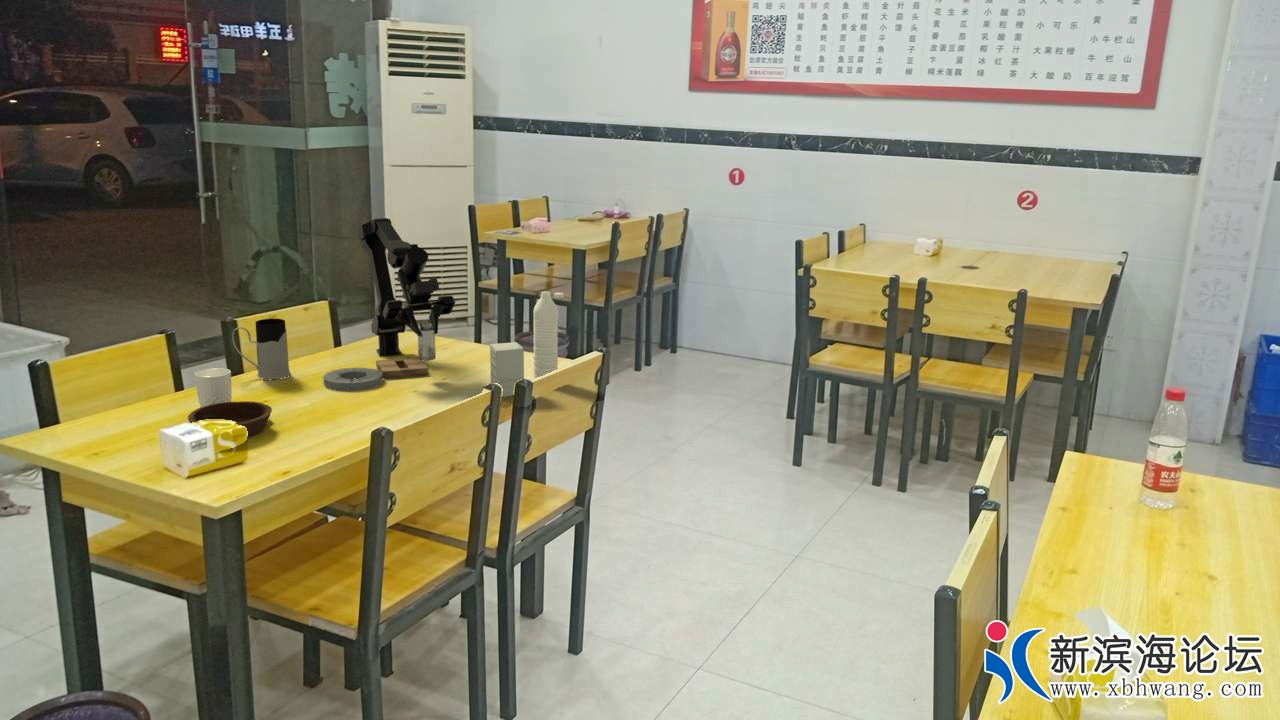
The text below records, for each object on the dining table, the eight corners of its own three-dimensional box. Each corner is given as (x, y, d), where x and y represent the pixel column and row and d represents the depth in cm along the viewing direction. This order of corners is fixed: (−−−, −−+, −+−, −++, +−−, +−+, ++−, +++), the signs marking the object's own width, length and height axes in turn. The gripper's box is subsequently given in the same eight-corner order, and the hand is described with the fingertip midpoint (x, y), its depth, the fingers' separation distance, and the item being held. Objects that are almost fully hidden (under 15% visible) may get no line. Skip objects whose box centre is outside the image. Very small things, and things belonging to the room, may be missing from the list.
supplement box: (517, 387, 270) (517, 341, 267) (524, 395, 263) (524, 348, 260) (490, 390, 267) (489, 343, 264) (496, 398, 261) (495, 350, 257)
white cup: (217, 419, 239) (214, 378, 237) (191, 415, 242) (187, 374, 239) (241, 410, 246) (238, 370, 244) (215, 406, 249) (211, 366, 246)
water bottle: (528, 383, 274) (528, 292, 268) (542, 378, 279) (542, 288, 273) (555, 388, 270) (555, 295, 263) (569, 383, 275) (569, 292, 269)
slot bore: (376, 367, 286) (376, 360, 285) (419, 364, 290) (419, 357, 290) (383, 378, 275) (383, 371, 275) (427, 375, 280) (427, 368, 279)
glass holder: (289, 379, 273) (286, 324, 269) (233, 381, 269) (228, 326, 265) (292, 370, 281) (288, 317, 277) (237, 373, 277) (233, 319, 274)
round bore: (321, 377, 275) (320, 370, 274) (377, 372, 281) (377, 365, 280) (327, 392, 262) (326, 385, 261) (386, 387, 267) (386, 380, 267)
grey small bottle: (419, 356, 276) (418, 320, 274) (436, 356, 277) (435, 320, 274) (417, 360, 272) (416, 324, 269) (434, 360, 272) (433, 324, 270)
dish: (164, 442, 224) (162, 421, 223) (234, 414, 244) (233, 394, 243) (228, 453, 218) (226, 431, 217) (295, 423, 238) (294, 403, 237)
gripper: (384, 271, 266) (400, 320, 260) (451, 266, 276) (468, 313, 270) (376, 295, 275) (391, 343, 269) (441, 289, 285) (457, 336, 279)
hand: (428, 333), depth 271 cm, fingers closed on grey small bottle, 4 cm apart
